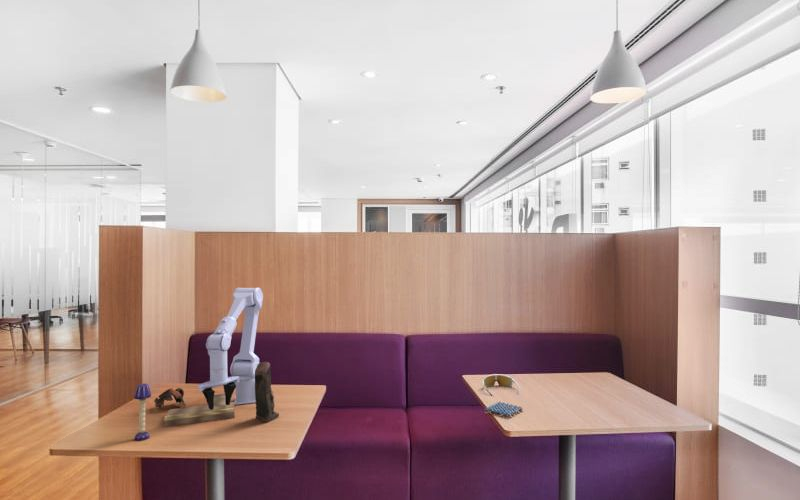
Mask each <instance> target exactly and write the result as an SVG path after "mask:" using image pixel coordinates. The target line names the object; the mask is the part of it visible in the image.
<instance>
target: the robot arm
mask: <svg viewBox="0 0 800 500" xmlns="http://www.w3.org/2000/svg"><path fill="white" fill-rule="evenodd" d="M232 300H233V302H232V304H231V307H230V309H229V311H228V313H227V315H226V316H225V317H223V318H221V320H220V322H219V324H218V325H217V327H216V328H215V330H214V333H212V334H210V335H209V336H208V337H207V339H206V343H205V347H206V349H207V355H208V356H209V376H210V377H209V380H208V381H205V382H203V383H199V384H197V385H196V386H197V391H198V392H201V393H202V394H203V396H204V397H205V400H206V403H207V405H208V407H209V409H211V410H212V409H213V408H214V395H215V393H216V391H215V390H213V388H218V387H221V386H223V391H224V393H223V394H225V403H226V405H230V402H232V401H231V400H232V398H233V397H232V396H233V394H234V392H235V397H234V402H235V406H237V405H246V404H252V403H256V400H255V370H256V368H257V365H258V364H259V363H260V358H259V356H258V355H257V354H255V353H254V352H255V345H256V337H257V329H258V321H259V316H260V315H259V314H260V310H262V306H263V301H264V294H263V291H262V289H261V287H237V288H235V290H234V292H233V294H232ZM243 311H244V312H245V314H244V318H243V319H244V321H243V326H242V333H241V341H240V348H239V352H238V353H237V354H236V355H233V359H232V362H231V364H230V368H229V372H230V375H231V376H228V350H229V349H230V347H231V341H232V335H233V334H234V332H235V330H236V328H237V325H238V323H237V320H238V317H239V316H240V315H241V314H242V312H243Z"/></svg>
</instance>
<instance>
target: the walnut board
mask: <svg viewBox="0 0 800 500" xmlns="http://www.w3.org/2000/svg"><path fill="white" fill-rule="evenodd" d="M235 406H236V405H235V401H230V405H226V409H220V410H213V409H212V410H211V409H209V407H208V404H205V405H197V406H187V407H184V408H180V407H179V408H172V409H171V408H170V409H168V410H167V411H168V412H167V415H164V427H172V426H179V425H188V424H196V423H203V422H204V423H206V422H210V421H218V420H226V419H235V415H236V414H235Z"/></svg>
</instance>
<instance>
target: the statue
mask: <svg viewBox="0 0 800 500" xmlns="http://www.w3.org/2000/svg"><path fill="white" fill-rule="evenodd" d="M271 380H272V375H271V364H270V362H268V361H263V362H260V361H259V364H258V365H257V368H256V370H255V400H256V402H255V411H256V412H255V421H262V422H264V423H269V422H271V421H273V420H275V419H277V418H279V417H280V413H279V412H277V411H275V407H276V406H275V400H274V399H275V395H274V391H273V390H272V381H271Z"/></svg>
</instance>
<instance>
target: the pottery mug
mask: <svg viewBox="0 0 800 500" xmlns="http://www.w3.org/2000/svg"><path fill="white" fill-rule="evenodd" d="M184 391H185V390H184V389H183V388H181V387H177V388H176V389H175V390H174V389H173V388H168V389H166V390H164V391H163V392H161V394H159V395H158V397H156V398H155V399H154V400H153V402H154V403H155V404H154V405H155V408H157V409H161V408H162V406H165V401H167V402H168V401H169V402H171V401H173V400H175V402H176V404H178V407H179V408H185V406H186V403H185V400H184V396H185V392H184ZM173 398H174V399H173Z"/></svg>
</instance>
